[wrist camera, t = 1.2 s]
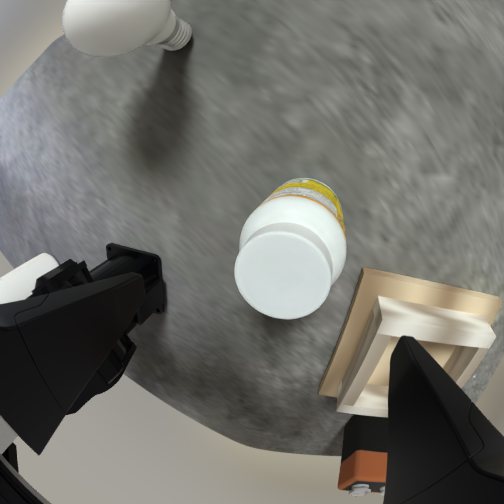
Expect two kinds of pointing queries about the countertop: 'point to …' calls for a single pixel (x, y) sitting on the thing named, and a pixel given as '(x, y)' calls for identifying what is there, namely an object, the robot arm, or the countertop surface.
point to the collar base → (410, 324)
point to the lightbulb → (122, 26)
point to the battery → (364, 455)
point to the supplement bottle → (292, 250)
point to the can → (25, 278)
